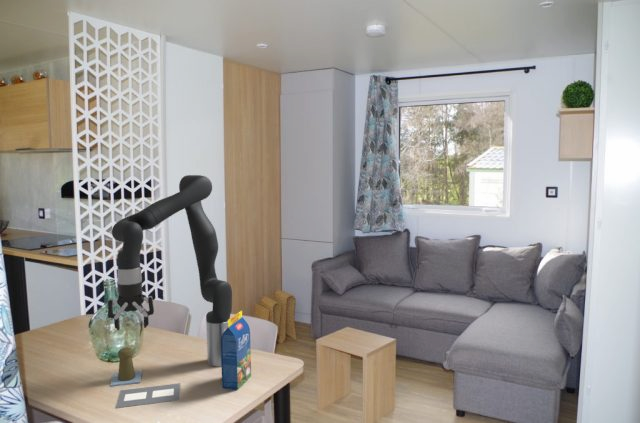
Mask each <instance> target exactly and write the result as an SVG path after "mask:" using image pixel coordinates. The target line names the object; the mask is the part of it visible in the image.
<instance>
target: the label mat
mask: <svg viewBox="0 0 640 423" xmlns="http://www.w3.org/2000/svg"><path fill="white" fill-rule="evenodd" d="M180 389H181V383H179V382H178V383H172V384H171V383H169V384H163V385H154V386H153V385H152V386H144V387H138V388H130V389H121V390H120V392H119V395H118V397H117V398H118V399H117V402H116V406H115V409H121V408H128V407H136V406H143V405H144V406H145V405H151V404H158V403H166V402H167V403H168V402H173V401H174V402H175V401H180V399H181V398H180V392H181V391H180Z"/></svg>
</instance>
